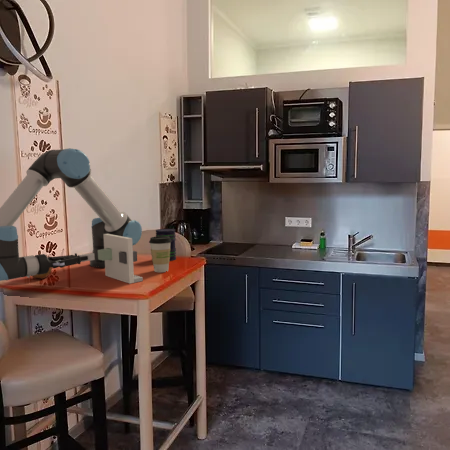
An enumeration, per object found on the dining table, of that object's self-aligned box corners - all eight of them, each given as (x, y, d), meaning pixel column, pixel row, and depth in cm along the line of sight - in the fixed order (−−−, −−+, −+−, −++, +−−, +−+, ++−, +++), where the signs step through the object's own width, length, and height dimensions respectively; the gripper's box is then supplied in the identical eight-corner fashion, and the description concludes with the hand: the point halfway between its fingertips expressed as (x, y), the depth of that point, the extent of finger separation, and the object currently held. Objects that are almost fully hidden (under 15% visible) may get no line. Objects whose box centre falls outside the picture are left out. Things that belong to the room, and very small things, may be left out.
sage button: (98, 259, 196) (97, 249, 196) (111, 257, 200) (110, 248, 200) (102, 260, 193) (102, 251, 193) (115, 258, 197) (115, 249, 197)
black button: (119, 262, 189) (118, 252, 189) (132, 260, 193) (131, 250, 193) (124, 263, 186) (123, 253, 186) (137, 261, 190) (136, 251, 190)
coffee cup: (168, 273, 203) (167, 239, 201) (146, 273, 205) (145, 239, 203) (175, 268, 213) (174, 236, 211) (154, 268, 215) (153, 235, 213)
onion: (22, 280, 196) (20, 256, 195) (39, 275, 205) (37, 252, 204) (41, 281, 192) (39, 257, 191) (57, 276, 202) (56, 253, 200)
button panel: (105, 275, 201) (103, 234, 199) (117, 273, 205) (116, 232, 203) (129, 283, 187) (127, 238, 184) (142, 280, 191) (140, 237, 188)
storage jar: (152, 260, 233) (151, 230, 231) (162, 257, 242) (161, 228, 240) (170, 261, 229) (169, 231, 227) (179, 258, 238) (179, 228, 236)
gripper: (30, 272, 182) (86, 263, 198) (42, 277, 173) (101, 267, 188) (28, 253, 181) (85, 245, 197) (41, 257, 172) (100, 249, 187)
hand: (93, 256), depth 193 cm, fingers closed
